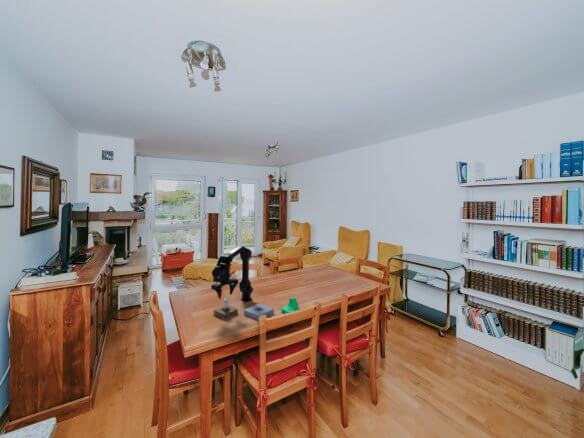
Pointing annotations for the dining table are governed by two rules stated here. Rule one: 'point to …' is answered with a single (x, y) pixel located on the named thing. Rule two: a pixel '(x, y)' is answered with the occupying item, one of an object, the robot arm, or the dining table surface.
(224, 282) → the robot arm
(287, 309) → the camera mount
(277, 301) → the dining table surface
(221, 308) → the mount block
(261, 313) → the socket plate
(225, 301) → the pin
